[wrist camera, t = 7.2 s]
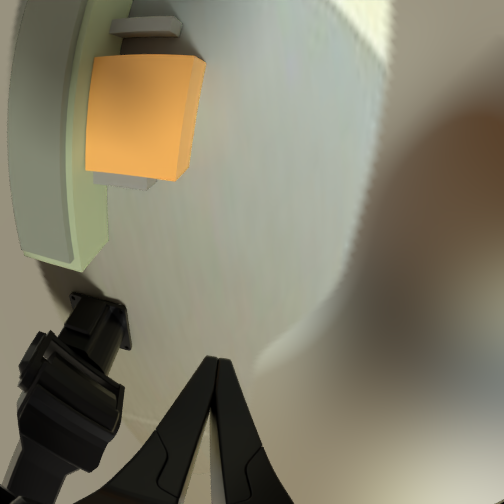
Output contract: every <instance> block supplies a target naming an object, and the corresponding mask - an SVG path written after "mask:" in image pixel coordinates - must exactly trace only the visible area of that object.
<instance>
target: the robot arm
mask: <svg viewBox="0 0 504 504" xmlns="http://www.w3.org/2000/svg"><path fill="white" fill-rule="evenodd" d="M69 297H70V301H71V304H72V308H73V311H72V312H71V314H70V316H69V317H68V319H67V320H66V322H65V323H64V327H63V329H62V331H61V332H60V334H59V335H58V337H57V336H55V334H54V333H53V332H52V331H51V330H50V331H49V332H48V333H47V334H46V333H43V332H40V331H39V332H38V333H37V335H36V337H35V338H34V340H33V341H32V343H31V344H30V346H29V348H28V350H27V351H26V353H25V355H24V357H23V359H22V360H21V362H20V364H19V370H20V377H19V378H20V381H19V383H18V387H19V388H20V389H21V390H23V391H22V393H21V395H20V397H19V399H18V401H17V417H18V426H19V434H20V440H19V442H18V444H17V447H16V449H15V452H14V454H13V456H12V459H11V461H10V464H9V466H8V469H7V472H6V475H5V477H4V480H3V483H2V485H1V484H0V504H55V502H56V499H57V496H58V494H59V492H60V489H61V487H62V484H63V482H64V480H65V478H66V476H67V475H69V474H71V473H73V472H75V471H77V470H79V469H82V470H84V471H86V472H88V473H90V472H92V471H93V470H94V469H96V468H97V467H98V465H99V463H100V460H101V457H102V454H103V452H104V450H105V448H106V446H107V444H108V443H109V442H110V441H111V440H112V439H113V438H114V437H115V435H116V433H117V431H118V429H119V427H120V423H121V417H122V407H123V399H124V390H125V387H124V386H123V385H121V384H118V383H117V382H115V381H114V380H112V379H111V378H109V377H108V374H109V372H110V369H111V367H112V364H113V362H114V359H115V357H116V355H117V352H118V350H119V348H121V349H125V350H131V348H132V342H131V336H130V330H129V323H128V315H127V309H126V308H125V307H124V306H122V305H119V304H115V303H111V302H107V301H104V300H100V299H97V298H93V297H90V296H86V295H83V294H79V293H76V292H72V293H71V294H70V296H69ZM121 310H122V311H121ZM43 356H44V357H45V358H46V359H45V358H44V357H43ZM209 412H210V473H211V500H212V504H294V502H293V501H292V499H291V498H290V496H289V495H288V493H287V492H286V490H285V489H284V487H283V485H282V484H281V482H280V480H279V479H278V477H277V475H276V473H275V472H274V470H273V468H272V466H271V464H270V461H269V459H268V457H267V455H266V452H265V450H264V447H262V443H261V440H260V438H259V435H258V432H257V430H256V427H255V425H254V422H253V419H252V417H251V414H250V411H249V409H248V406H247V403H246V401H245V398H244V395H243V393H242V390H241V387H240V384H239V381H238V379H237V376H236V373H235V370H234V367H233V364H232V362H231V360H230V359H225V358H219V359H218V358H217V357H214V356H206V357H205V358H204V359H203V361H202V362H201V364H200V365H199V367H198V368H197V370H196V371H195V373H194V374H193V376H192V377H191V379H190V380H189V381H188V383H187V384H186V386H185V387H184V389H183V390H182V392H181V393H180V395H179V396H178V397H177V399H176V400H175V402H174V403H173V405H172V406H171V408H170V409H169V410H168V412H167V413H166V415H165V416H164V418H163V419H162V420H161V422H160V423H159V425H158V426H157V427H156V430H154V432H153V433H152V434H151V436H150V437H149V439H148V440H147V441H146V442H145V444H144V445H143V446H142V448H141V449H140V450H139V451H138V452H137V453H136V454H135V456H134V457H133V458H132V459H131V460H130V461H129V462H128V463H127V464H126V465H125V466H124V467H123V468H122V469H121V470H120V471H119V472H118V473H117V474H116V475H115V476H114V477H113V478H112V479H111V480H109V481H108V482H107V483H106V484H105V485H104V486H102V487H101V488H100V489H98V490H97V491H95V492H94V493H92V494H90V495H88V496H87V497H85V498H83V499H81V500H79V501H77V502H76V503H73V504H183V503H184V499H185V496H186V492H187V489H188V486H189V482H190V479H191V475H192V472H193V469H194V465H195V462H196V458H197V455H198V451H199V448H200V444H201V441H202V437H203V434H204V431H205V427H206V424H207V420H208V416H209ZM496 504H504V500H502V501H500V502H498V503H496Z"/></svg>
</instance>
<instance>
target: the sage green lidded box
mask: <svg viewBox="0 0 504 504" xmlns="http://www.w3.org/2000/svg"><path fill="white" fill-rule="evenodd" d="M132 2H133V0H28V1H27V4H26V8H25V11H24V14H23V18H22V22H21V25H20V29H19V34H18V38H17V42H16V47H15V53H14V58H13V64H12V71H11V79H10V88H9V99H8V118H7V147H8V167H9V178H10V188H11V196H12V204H13V210H14V216H15V222H16V227H17V232H18V236H19V241H20V246H21V250H23V251H24V255H25V256H27V257H30V258H34V259H37V260H40V261H43V262H47V263H50V264H54V265H57V266H61V267H64V268H68V269H71V270H75V271H79V272H83V271H84V270H85V268H86V267H87V266H88V265H89V263H90V262H91V261H92V260H93V258H94V257H95V256H96V255H97V254H98V252H99V251H100V250H101V249H102V248H103V246H104V245H105V244H106V243H107V242H108V241H109V237H108V218H107V186H115V187H122V188H129V189H135V190H142V191H147V190H148V189H149V188H150V187H151V186H153V185H154V184H155V183H156V182H157V179H154V178H147V177H139V176H131V175H123V174H115V173H106V172H96V171H86V170H85V150H86V125H87V111H88V100H89V91H90V83H91V76H92V69H93V63H94V57H102V56H115V55H119V54H120V49H121V45H122V40H123V38H131V37H179V36H180V32H181V28H182V23H181V22H180V21H179V20H178V19H177V18H175V17H174V16H147V17H132V18H128V16H129V12H130V9H131V5H132Z"/></svg>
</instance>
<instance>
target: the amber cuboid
mask: <svg viewBox="0 0 504 504" xmlns="http://www.w3.org/2000/svg"><path fill="white" fill-rule="evenodd" d="M205 67H206V62H204V61H202V60H201V59H199V58H197V57H196V56H190V55H169V54H135V55H115V56H102V57H94V63H93V69H92V76H91V83H90V91H89V100H88V111H87V125H86V150H85V170H86V171H96V172H106V173H115V174H123V175H131V176H139V177H147V178H154V179H161V180H168V181H176V180H177V179H178V178H179V177H180V176H181V175H182V174H183V173H184V172H185V171H186V170H187V169H188V168H189V163H190V156H191V148H192V141H193V135H194V128H195V122H196V116H197V110H198V104H199V98H200V93H201V87H202V82H203V77H204V72H205Z"/></svg>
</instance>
